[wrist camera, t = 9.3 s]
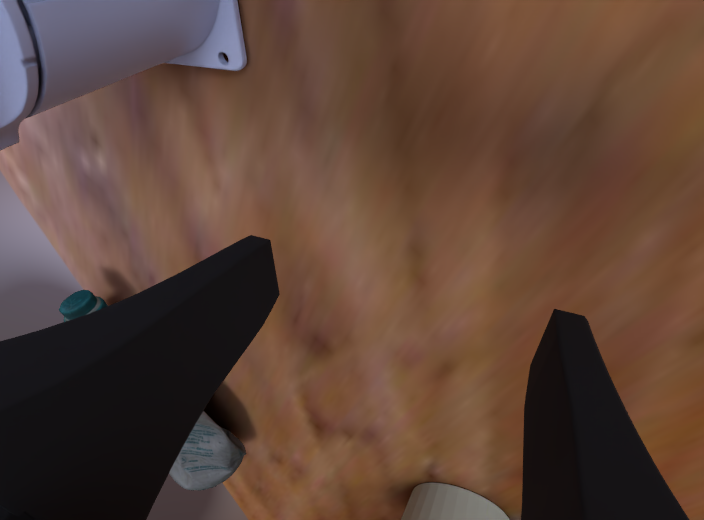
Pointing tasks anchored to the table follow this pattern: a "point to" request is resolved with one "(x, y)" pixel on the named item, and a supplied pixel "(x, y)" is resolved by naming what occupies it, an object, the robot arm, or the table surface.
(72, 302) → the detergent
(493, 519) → the reusable coffee cup
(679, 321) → the table surface
